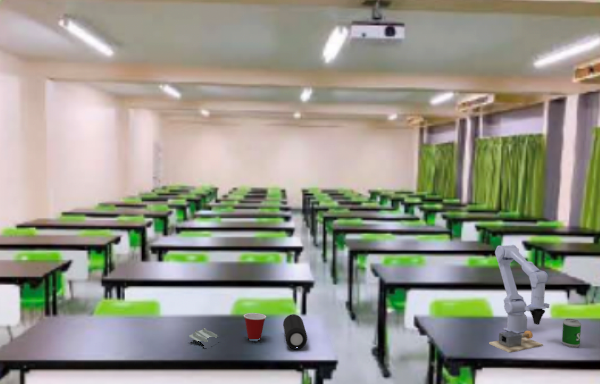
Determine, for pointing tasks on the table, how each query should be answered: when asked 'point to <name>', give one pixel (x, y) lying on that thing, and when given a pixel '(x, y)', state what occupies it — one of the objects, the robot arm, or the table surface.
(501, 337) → the bearing stand
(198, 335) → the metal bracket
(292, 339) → the portable speaker
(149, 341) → the table surface
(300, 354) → the table surface
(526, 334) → the shaft
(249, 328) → the plastic cup
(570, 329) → the soda can
